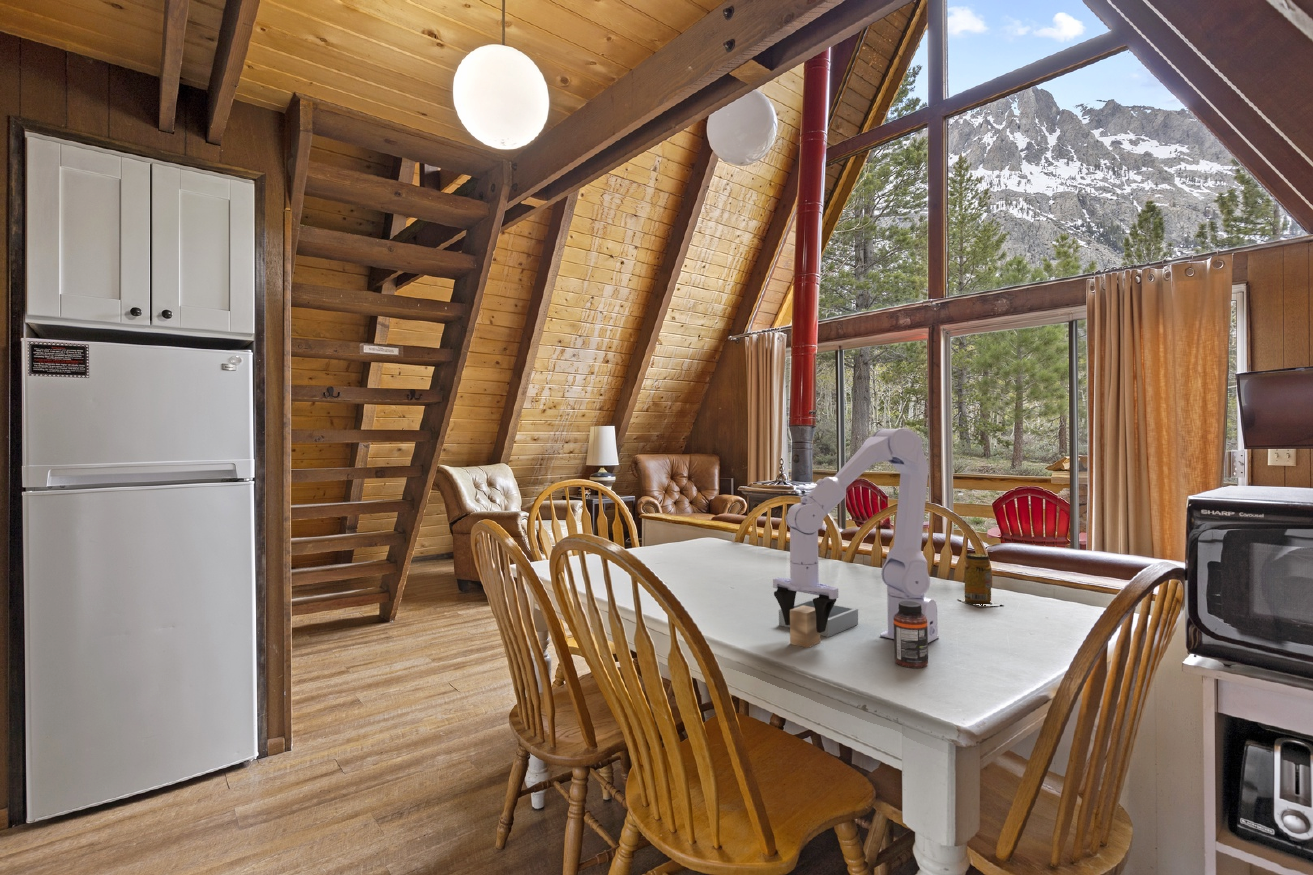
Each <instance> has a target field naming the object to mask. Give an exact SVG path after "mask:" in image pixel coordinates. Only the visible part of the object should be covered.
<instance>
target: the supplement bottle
mask: <svg viewBox="0 0 1313 875" xmlns="http://www.w3.org/2000/svg"><path fill="white" fill-rule="evenodd" d="M898 609H899V611H898V613H896V614H895V615H894V623H893V624H894V639H893V653H894V654H893V657H894V661H895V663H896V664H898V665H900V666H902V667H905V668H909V669H921V668H924V667H926V666H927V665H928V664H929V647H928V646H929V643H928V627H927V618H926V616H925V615H923V614H922V612H921V611H922V608H921V604H920V603H919V602H915V601H901V602H899V608H898Z"/></svg>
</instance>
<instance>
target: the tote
mask: <svg viewBox="0 0 1313 875" xmlns="http://www.w3.org/2000/svg"><path fill="white" fill-rule="evenodd" d="M803 605H805V606H809V607H814V603H813V599H807V600H804V601H801V602H798V603H794V608H797V607H800V606H803ZM814 608H815V607H814ZM855 625H856V626H858V625H859V609H858V608H855V607H852V606H851V607H850V606H844V605H839V604H836V603H835V604H834V606H833V607H832V610H831V612H830V614H829V617H828V621H827V625H826V629H825V631H824V632H822V633H820V636H823V637H828V638H829V637H831V636H833V635H836V634H839V633H841V632H843V631H845V630H849V629H851V628H853V627H855ZM778 626H780V627H785V628H789V629H790V625H785V621H784V617H783V613H782V610H781V608H780V609H779V610H778Z"/></svg>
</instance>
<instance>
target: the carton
mask: <svg viewBox="0 0 1313 875" xmlns="http://www.w3.org/2000/svg"><path fill="white" fill-rule="evenodd" d="M789 633H790V634H789V640H790V642H789V644H790V645H795V646H798V647H801V646H802V648H806V649H808V648H810V646H811V647H813V646H815V645H817V644H820V643H821V635H820V633H818V632H817V629H816V612H815V608H814V607H809V606H805V605H803V606H800V607H797V608H794V609H791V610H790V628H789Z"/></svg>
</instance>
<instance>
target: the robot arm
mask: <svg viewBox="0 0 1313 875" xmlns="http://www.w3.org/2000/svg"><path fill="white" fill-rule="evenodd" d="M923 442H924V441H923V439H922V437H920V436H919V435H918V434H917V433H916V432H915V431H914V430H912V429H911V428H908V427H900V428H879V429H877V430H876V431H875V432H873V434H872V435H871V436H869V437H867V439H865V441H864V442H863V443H862V445H861V446H860V447H859V449H857V451H856V452H855V453H854V454H853V455H851V456H852V457H851V458H850V459H849V460H847V462H846V463H845V464H844V465H843V466H842V467H841V469H839V470H838V472H837V473H836V474H835V475H834V476H826V477H824V478H823V479H822V478H819V479H817V481H816V482H815V484H816V485H815V487H813V488H812V489H811V490H810V492H808V493H807V494H806V495H805V496H802V497H800V502H797V503H795V504H793V505H791V506H790V507H789V509H788V511H787V514H786V515H785V516H784V518H785V523H786V524H787V526H788V527H789V536H790V537H789V564H790V565H789V567H790V568H789V569H790V570H789V572H790V574H789V577H790V578H785V577H775V578H772V588H773V589H776V590H775V591H774V592H773V596H774V598H775V600H776V601H777V603H778V605H779V607H780V609H781V610H782V613H783V617H784V621H785V625H790V610H791V609H794V605H795V604H796V603H795V602H796V597H797V592H798V593H803V594H810V595H815V596H817V597H815V598H812V600H813V603H814V607H815V612H816V629H817V632H818V633H822V632H824V631H825V629H826V625H827V621H828V617H829V614H830V612H831V610H832V607H833V606H834V604H835V605H836V601H837V599H838V598H839V588H838V587H834V586H831V585H827V584H824V583H822V582H819V581H820V580H819V578H820V577H819V576H820V575H819V570H820V569H819V564H820V563H819V530H820V529H822V527H823V525H824V519H825V518H826V517H827V516H828V515H829V514H830V513H831V512H832V511H833V510H834V509H835V508H836V507H837V506H838V504H840V503H841V502H842V500H844V499H845V498H846V495H847V488H848V487H850V485H851V484H852V483H853V482H854V481H856V480H857V479H858V478H859V477H861V475H862V474H864V473H865V472H866V471H867V470H868V469H869V468H870V467H871V466H872V465H874V464H876V463H881V462H888V463H890V464H891V465H892V467H893V468H895V470H896V471H897V472H898V473H899V475H900V476H899V485H898V498H897V505H896V506H897V508H896V518H895V519H896V520H895V530H894V538H893V539H894V540H893V546H892V548H890V550H889V551H888V552H886V553H887V554H886V560H885V562H884V564H883V566H882V568H881V571H880V572H881V573H880V576H881V579H882V582H883V583H884V584H885V585H886V595H887V596H886V597H887V598H886V599H887V602H886V603H887V630H884V631H882V632H881V633H879V636H880V637H882V638H887V639H892V640H894V624H893V623H894V615H895V614H896V613H898V611H899V609H898V608H899V602H901V601H915V602H919V603H920V604H921V608H922V611H921V612H922V614H923V615H925V616H926V618H927V627H928V644H929V643H931V642H933V641H934V640H936V639H939V637H940V635H939V634H938V628H939V626H938V606H937V601H935V600H934V599H933V598H928V597H927V596H925V594H926V593H927V592H928V590H929V588H930V585H931V577H930V574H929V571H928V561H927V559H926V557H925V555H924V554H923V551H922V544H923V543H922V542H923V531H924V530H923V529H924V522H925V521H924V520H925V510H926V500H927V498H926V497H927V489H928V480H929V479H928V478H929V477H928V476H929V463H928V461H927V459H926V455H925V452H924V450H923Z"/></svg>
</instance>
